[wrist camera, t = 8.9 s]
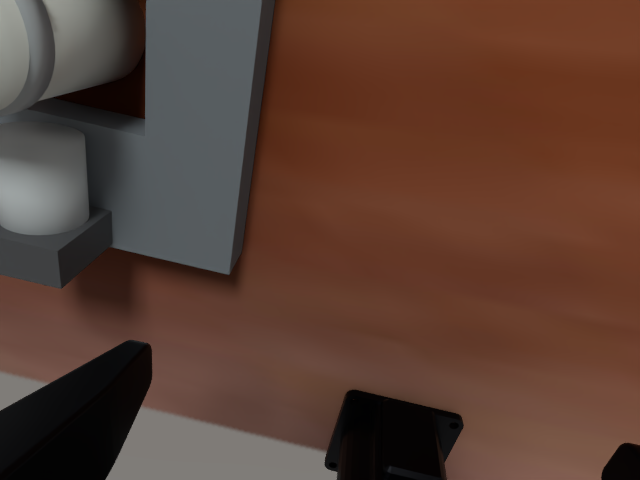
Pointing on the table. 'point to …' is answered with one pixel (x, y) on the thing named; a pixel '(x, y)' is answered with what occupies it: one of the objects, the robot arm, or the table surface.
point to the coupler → (65, 47)
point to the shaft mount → (143, 153)
